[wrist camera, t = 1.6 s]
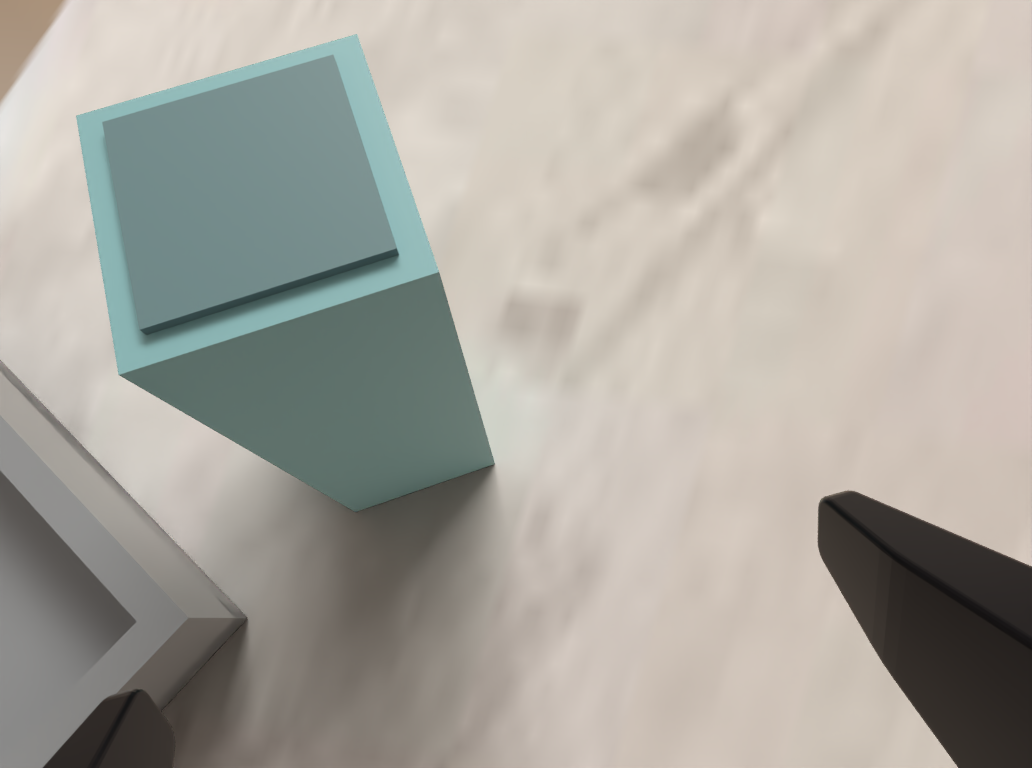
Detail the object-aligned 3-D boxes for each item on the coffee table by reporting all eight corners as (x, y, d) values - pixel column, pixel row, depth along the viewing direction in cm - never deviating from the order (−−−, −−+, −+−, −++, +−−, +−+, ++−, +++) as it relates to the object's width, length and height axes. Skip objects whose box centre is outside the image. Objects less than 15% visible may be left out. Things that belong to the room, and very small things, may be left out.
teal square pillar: (494, 463, 24) (436, 265, 11) (355, 512, 24) (110, 369, 10) (451, 337, 26) (354, 25, 12) (320, 381, 25) (68, 107, 12)
